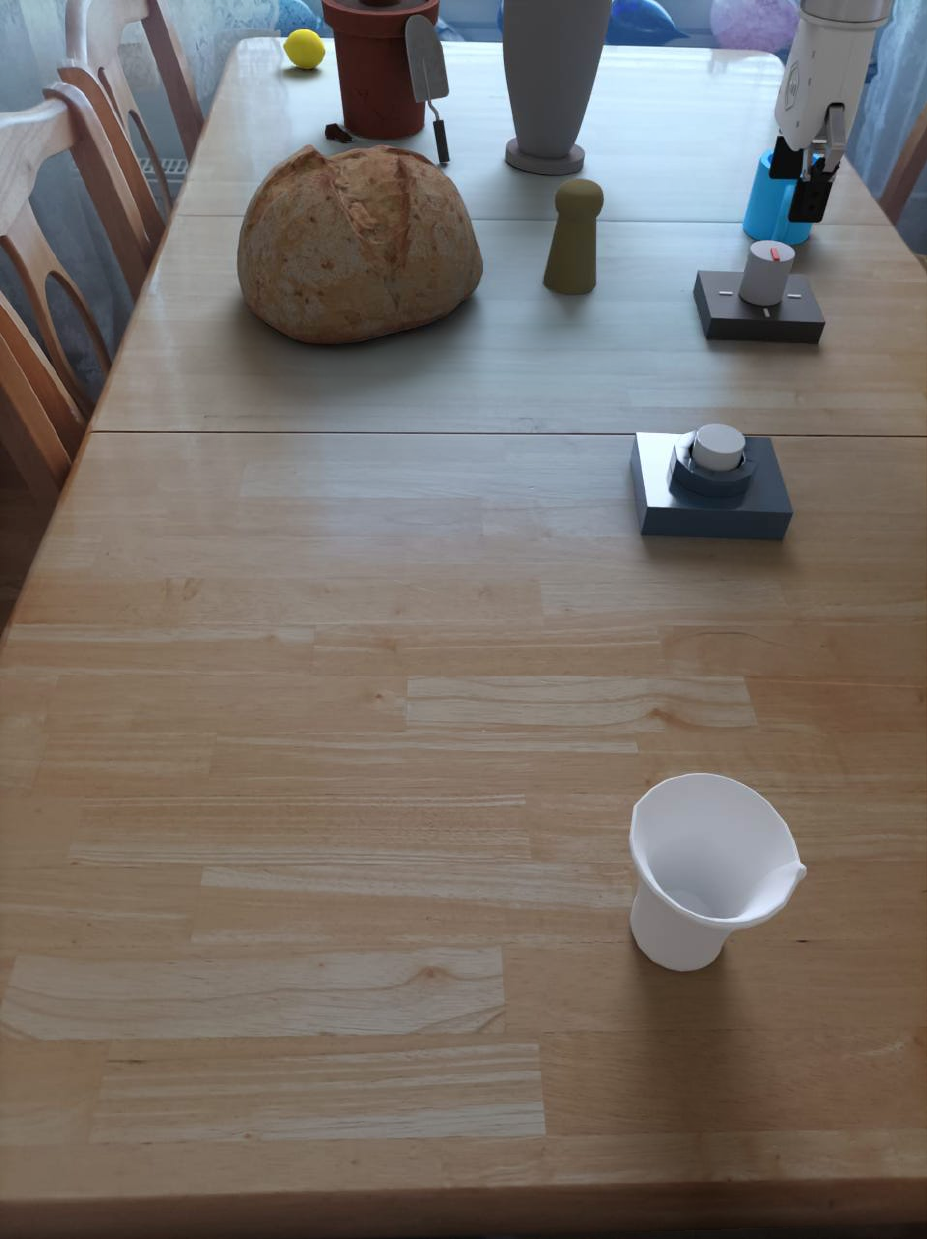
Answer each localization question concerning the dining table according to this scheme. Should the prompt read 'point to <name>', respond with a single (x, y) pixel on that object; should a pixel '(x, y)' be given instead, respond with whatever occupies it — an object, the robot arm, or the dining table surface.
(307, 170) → the bread
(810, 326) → the knob base
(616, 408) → the dining table surface
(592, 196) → the game pawn
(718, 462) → the button
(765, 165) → the mug
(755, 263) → the lock knob
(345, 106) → the potted plant
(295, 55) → the lemon
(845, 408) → the dining table surface
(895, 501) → the dining table surface
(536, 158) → the vase
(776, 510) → the push button box
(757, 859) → the cup
